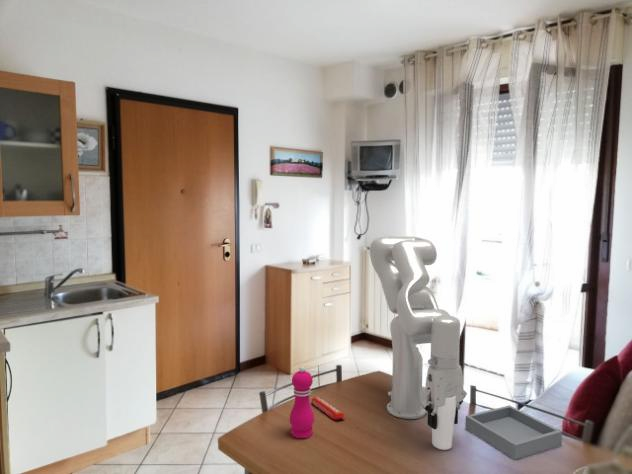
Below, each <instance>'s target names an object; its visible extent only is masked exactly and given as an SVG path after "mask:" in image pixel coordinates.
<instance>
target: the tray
mask: <svg viewBox="0 0 632 474" xmlns="http://www.w3.org/2000/svg"><path fill="white" fill-rule="evenodd" d="M464 426H465V427H464V428H465V430H466V431H467V432H470V433H471V434H473V435H474V436H476V437H477V438H479V439H481V440H482V441H484V442H486V443H487V444H489V445H491V446H492V447H493V448H495V449H497V450H498V451H500V452H502V453H503V454H505V455H506V456H508V457H509V458H511V459H513V460H514V461H516V460H519V459H522V458H525V457H529V456H532V455H535V454H539V453H541V452H544V451H549V450H551V449H554V448H558V447H561V446H562V440H563V438H562V436H563V430H560V429H559V428H556V427H553V426H552V425H550V424H549V423H546V422H544V421H542V420H540V419H538V418H536V417H534V416H531V415H530V414H528V413H526V412H523V411H521V410H519V409H518V408H515V407H513V406H511V405H510V404H509V405H505V406H501V407H497V408H493V409H489V410H485V411H481V412H476V413H473V414H468V415H465V425H464Z"/></svg>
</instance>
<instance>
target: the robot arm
mask: <svg viewBox="0 0 632 474" xmlns="http://www.w3.org/2000/svg"><path fill="white" fill-rule="evenodd" d="M437 257H438V253H437V249H436V246H435V245H434V243H433V242H432V241H430V240H428V239H426V238H425V239H424V238H421V237H417V236H382V237H381V236H380V237H377V238H375V239H373V240H372V242H371V243H370V246H369V259H370V262H371V265H372V267H373V270H374V272H375V273H376V274H377V277H378V279H379V281H380V284H381V287H382V291H383V294H384V297H385V301H386V304H387V306H388V309H389V311H390V312H391V313H392V314H395V315H397V316H394V317H393V318H392V319H391V321H390V326H389V328H390V336H391V337H390V338H391V345H392V378H391V379H392V380H391V382H392V385H391V388H392V389H391V391H388V392H387V395H388V397H390V401H389V402H388V403H387V405H386V410H387V412H388V413H389V414H390V415H392V416H394V417H397V418H399V419H405V420H416V419H417V420H418V419H421V418H423V417H425V416H426V414H427V418H426V419H427V426H429V427H430V428H431V429H432V428H433V429H434V430H435V429H437V415H436V411H437V408H438V407H441V406H444V405H445V400H446V398H452V397H454V396H456V413H455V421H454V425H458V424H459V423H458V422H459V421H458V420H459V410H461V406H462V403H463V402H464V399H465V398H466V397H467V395H468V393H467V391H465V389H464V375H463V369H462V366H461V365H460V345H461V344H460V341H461V339H460V338H461V323H460V319H458V318H457V317H455V316H452V315H451V314H450V313H449V312H448V311H446V310H444V309H442V308H439V305H438V303H437V300H436V296H435V294H434V293H433V291H432V290H431V288H429V287H428V284H429V283H430V276H429V273H428V271H427V268H426V266H431V265H433V264H434V263H435V262H436V260H437ZM424 344H430V359H428V360H427V364H428V365H429V366H428V368H427V373H426V379H425V385H424V386H425V387H424V394H423V367H424V366H423V365H424V364H423V362H424V361H423V360H424V359H423V355H422V354H421V352H420V351H419V350H418V349H417V346H418V345H424ZM432 404H433V408H431V407H432Z"/></svg>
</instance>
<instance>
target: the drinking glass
mask: <svg viewBox="0 0 632 474" xmlns="http://www.w3.org/2000/svg"><path fill="white" fill-rule="evenodd" d="M431 408H433V404H432V407H431ZM455 413H456V396H454V397H452V398H446V400H445V405H444V406H441V407H438V408H437V411H436V415H437V429H435V430H434V429H433V428H431V444H432V446H433V447H434V448H436V449H438V450H440V451H446V450H450V449H451V448H452V447H453V437H454V435H453V434H454V427H455V424H454V421H455Z"/></svg>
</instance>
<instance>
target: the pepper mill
mask: <svg viewBox="0 0 632 474" xmlns="http://www.w3.org/2000/svg"><path fill="white" fill-rule="evenodd" d="M291 385H292V386H293V395H294V403H293V406H292V409H291V411H290V414H289V423H290V425H291V428H290V434H292V435H293V436H294V437H296V438H295V439H297V438H306V439H309V438H311V437H312V436H313V425H314V423H315V415H314V410H313V408H312V405H311V402H310V394H311V393H312V392H311V390H312V389H311V387H312V385H313V376H312V374H311V373H310V372H308V371H306V367H305V366H300V367H299V370H298V371H296V372H294V374H293V375H292V378H291ZM292 435H291V436H292ZM311 435H312V436H311ZM293 436H292V437H293ZM294 437H293V438H294ZM308 437H309V438H308Z"/></svg>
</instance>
